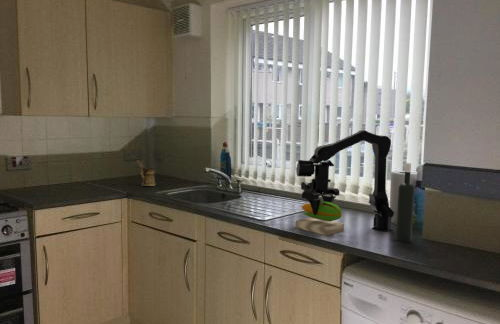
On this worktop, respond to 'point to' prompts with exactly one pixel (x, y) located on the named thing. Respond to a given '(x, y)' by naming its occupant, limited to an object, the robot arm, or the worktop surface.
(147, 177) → the wooden mug
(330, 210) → the corn
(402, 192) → the wine bottle
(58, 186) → the worktop surface
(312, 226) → the birch base
